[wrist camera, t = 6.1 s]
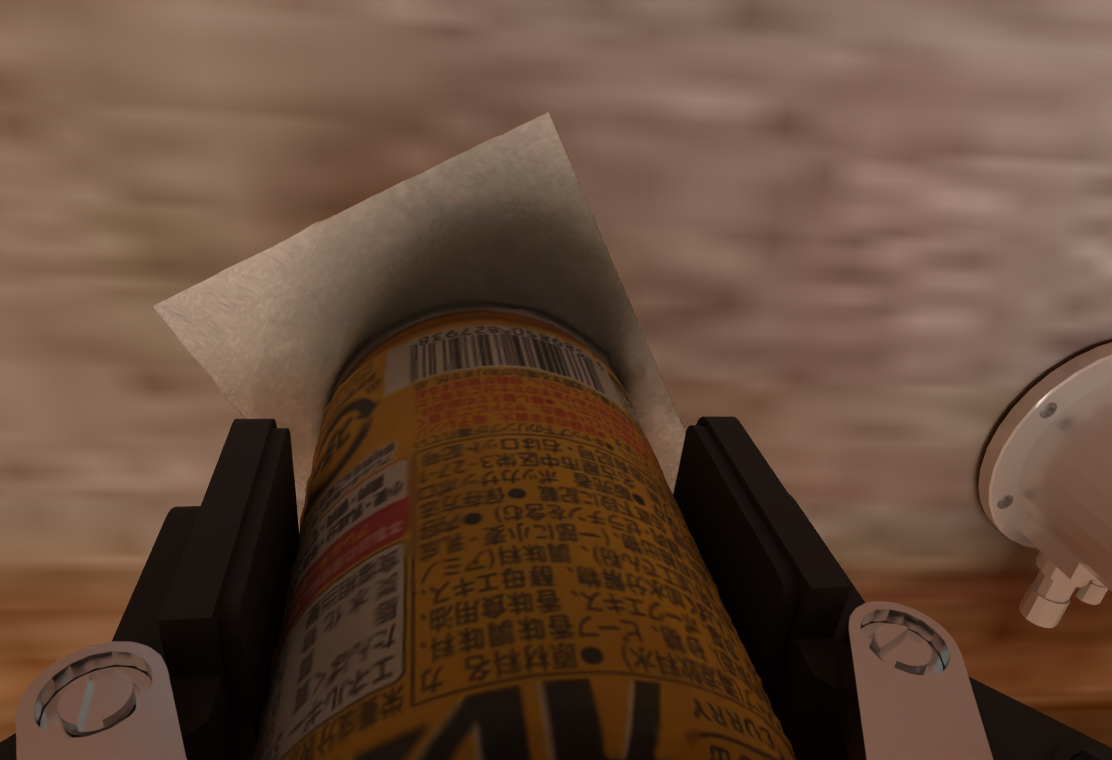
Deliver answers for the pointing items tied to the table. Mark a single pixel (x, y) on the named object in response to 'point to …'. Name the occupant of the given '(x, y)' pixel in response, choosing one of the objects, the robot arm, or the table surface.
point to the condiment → (476, 483)
